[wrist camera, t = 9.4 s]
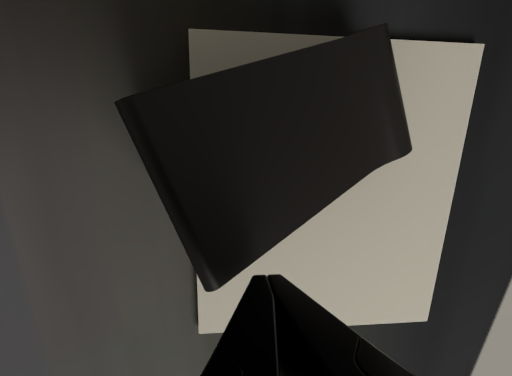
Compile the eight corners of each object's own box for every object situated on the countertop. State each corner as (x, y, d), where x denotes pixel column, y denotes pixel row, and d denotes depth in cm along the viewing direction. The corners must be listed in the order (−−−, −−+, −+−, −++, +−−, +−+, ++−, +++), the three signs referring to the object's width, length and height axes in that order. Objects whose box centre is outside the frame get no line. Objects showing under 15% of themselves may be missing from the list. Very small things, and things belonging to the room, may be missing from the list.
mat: (199, 327, 19) (198, 333, 19) (189, 32, 15) (188, 28, 14) (421, 315, 21) (426, 321, 20) (475, 46, 16) (484, 44, 16)
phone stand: (141, 121, 15) (327, 54, 18) (186, 217, 17) (350, 144, 20) (110, 99, 7) (470, -21, 9) (205, 296, 9) (492, 148, 11)
